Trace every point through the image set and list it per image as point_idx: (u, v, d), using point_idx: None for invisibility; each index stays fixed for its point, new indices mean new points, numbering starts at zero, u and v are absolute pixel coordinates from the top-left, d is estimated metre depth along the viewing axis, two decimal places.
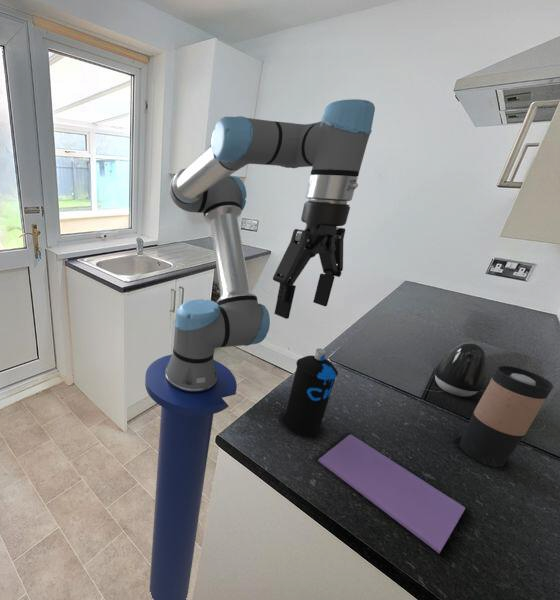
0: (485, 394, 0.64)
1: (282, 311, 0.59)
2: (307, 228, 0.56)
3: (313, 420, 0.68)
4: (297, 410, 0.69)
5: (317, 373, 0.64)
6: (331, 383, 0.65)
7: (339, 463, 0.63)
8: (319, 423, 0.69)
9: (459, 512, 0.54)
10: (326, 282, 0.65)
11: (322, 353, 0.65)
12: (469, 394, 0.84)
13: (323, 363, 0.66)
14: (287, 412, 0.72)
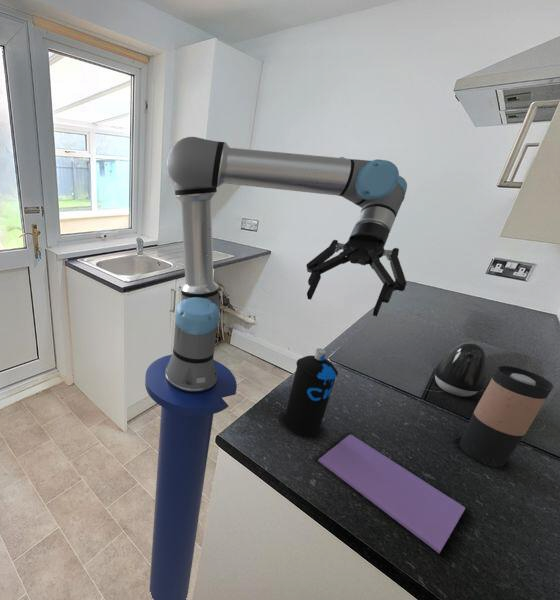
0: (485, 394, 0.64)
1: (378, 309, 0.66)
2: None
3: (313, 420, 0.68)
4: (297, 410, 0.69)
5: (317, 373, 0.64)
6: (331, 383, 0.65)
7: (339, 463, 0.63)
8: (319, 423, 0.69)
9: (459, 512, 0.54)
10: (318, 280, 0.76)
11: (322, 353, 0.65)
12: (469, 394, 0.84)
13: (323, 363, 0.66)
14: (287, 412, 0.72)
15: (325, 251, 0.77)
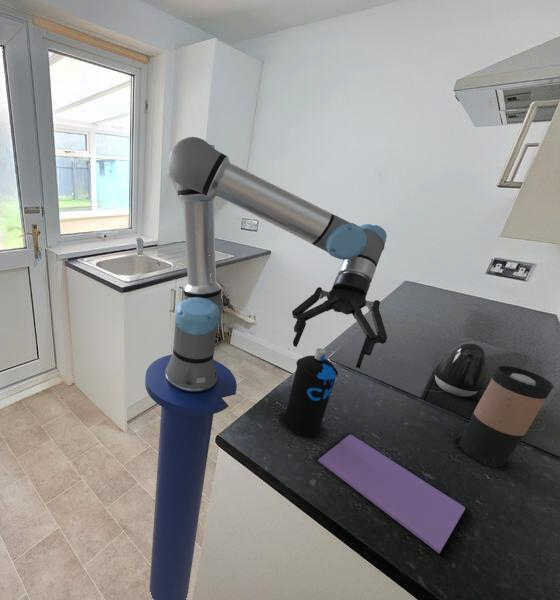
0: (485, 394, 0.64)
1: None
2: (365, 298, 0.74)
3: (313, 420, 0.68)
4: (297, 410, 0.69)
5: (317, 373, 0.64)
6: (331, 383, 0.65)
7: (339, 463, 0.63)
8: (319, 423, 0.69)
9: (459, 512, 0.54)
10: (303, 327, 0.77)
11: (322, 353, 0.65)
12: (469, 394, 0.84)
13: (323, 363, 0.66)
14: (287, 412, 0.72)
15: (310, 298, 0.79)
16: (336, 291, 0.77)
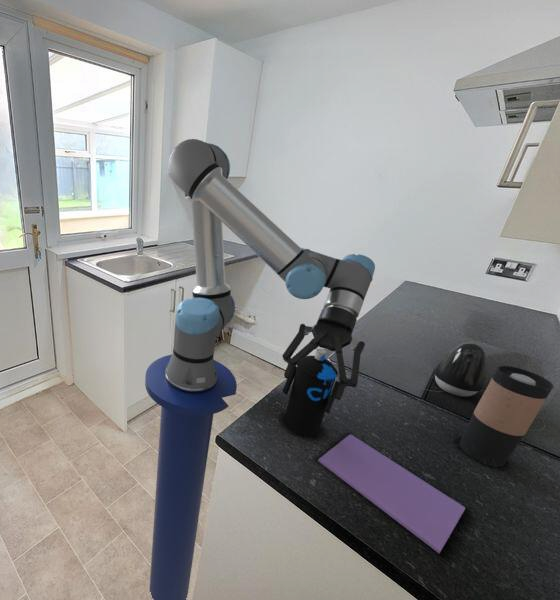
0: (485, 394, 0.64)
1: None
2: (351, 335, 0.70)
3: (313, 420, 0.68)
4: (297, 410, 0.69)
5: (317, 373, 0.64)
6: (331, 383, 0.65)
7: (339, 463, 0.63)
8: (319, 423, 0.69)
9: (459, 512, 0.54)
10: (294, 373, 0.72)
11: (322, 353, 0.65)
12: (469, 394, 0.84)
13: (323, 363, 0.66)
14: (287, 412, 0.72)
15: (296, 338, 0.74)
16: (321, 326, 0.73)
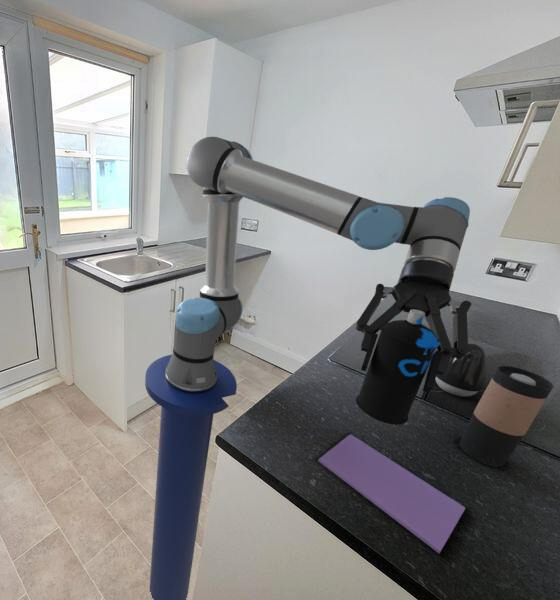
0: (485, 394, 0.64)
1: None
2: (448, 294, 0.55)
3: (404, 403, 0.53)
4: (381, 389, 0.54)
5: (415, 340, 0.49)
6: (432, 353, 0.50)
7: (339, 463, 0.63)
8: (410, 406, 0.54)
9: (459, 512, 0.54)
10: None
11: (420, 314, 0.50)
12: (469, 394, 0.84)
13: (421, 327, 0.51)
14: (364, 393, 0.57)
15: (373, 301, 0.59)
16: (406, 285, 0.58)
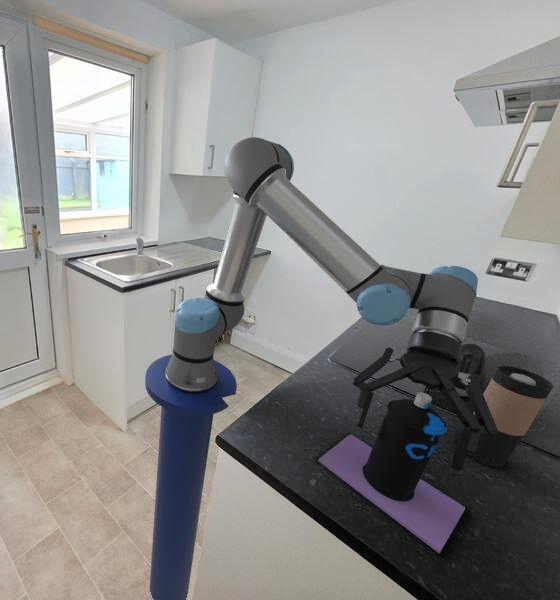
0: (485, 394, 0.64)
1: None
2: (456, 368, 0.56)
3: (411, 482, 0.54)
4: (388, 468, 0.55)
5: (423, 426, 0.50)
6: (439, 438, 0.51)
7: (339, 463, 0.63)
8: None
9: (459, 512, 0.54)
10: None
11: (427, 400, 0.51)
12: None
13: (428, 412, 0.52)
14: (371, 467, 0.58)
15: (377, 363, 0.60)
16: (414, 355, 0.59)
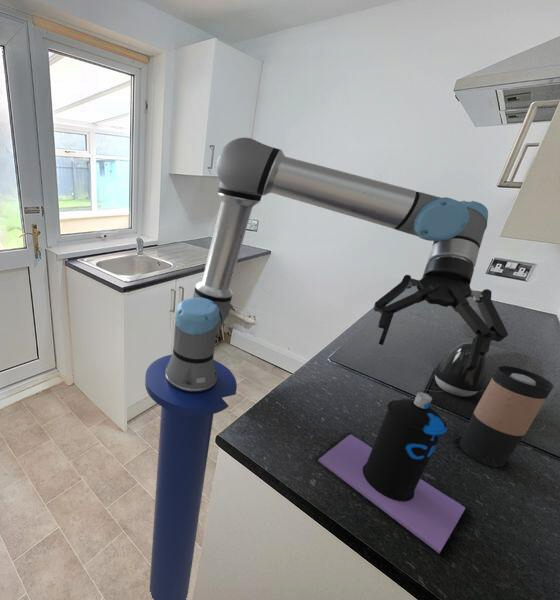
0: (485, 394, 0.64)
1: None
2: None
3: (411, 482, 0.54)
4: (388, 468, 0.55)
5: (423, 426, 0.50)
6: (439, 438, 0.51)
7: (339, 463, 0.63)
8: None
9: (459, 512, 0.54)
10: None
11: (427, 400, 0.51)
12: (469, 394, 0.84)
13: (428, 412, 0.52)
14: (371, 467, 0.58)
15: (397, 288, 0.66)
16: (430, 279, 0.65)
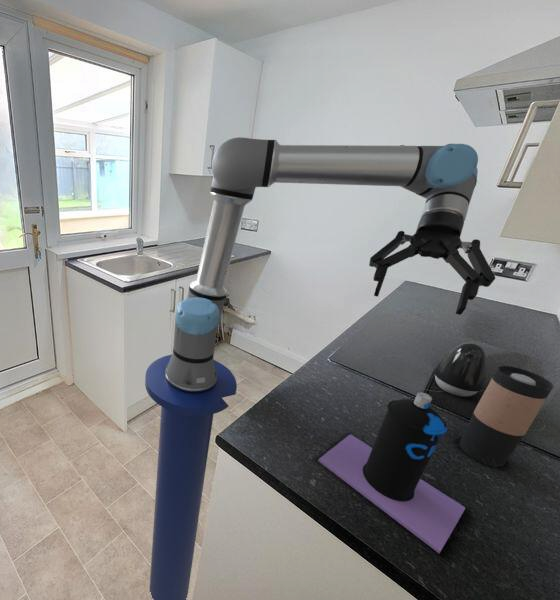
0: (485, 394, 0.64)
1: None
2: (459, 239, 0.65)
3: (411, 482, 0.54)
4: (388, 468, 0.55)
5: (423, 426, 0.50)
6: (439, 438, 0.51)
7: (339, 463, 0.63)
8: None
9: (459, 512, 0.54)
10: None
11: (427, 400, 0.51)
12: (469, 394, 0.84)
13: (428, 412, 0.52)
14: (371, 467, 0.58)
15: (391, 243, 0.70)
16: (423, 233, 0.68)
